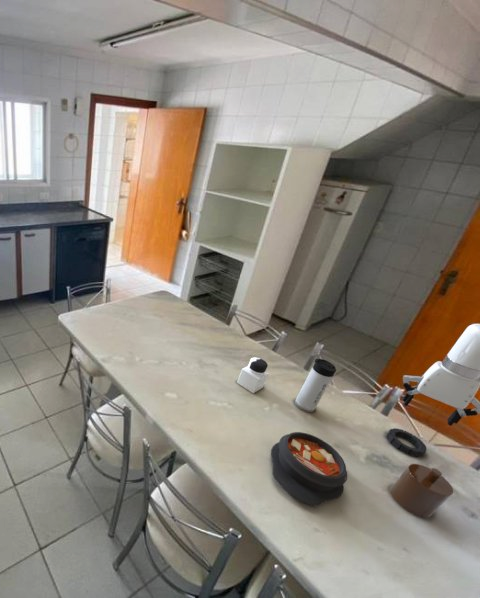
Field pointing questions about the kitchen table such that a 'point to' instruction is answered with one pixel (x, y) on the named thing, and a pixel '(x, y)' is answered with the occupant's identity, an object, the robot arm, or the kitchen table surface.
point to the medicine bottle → (254, 375)
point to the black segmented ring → (402, 447)
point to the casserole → (308, 468)
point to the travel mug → (315, 385)
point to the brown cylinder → (421, 490)
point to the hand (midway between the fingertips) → (426, 412)
